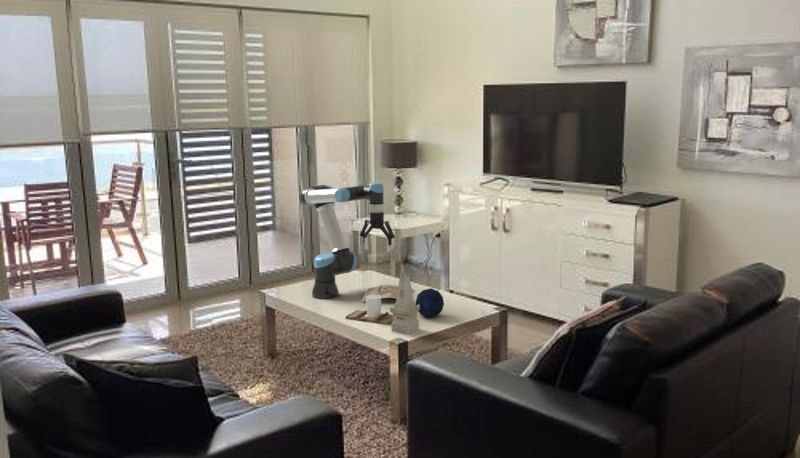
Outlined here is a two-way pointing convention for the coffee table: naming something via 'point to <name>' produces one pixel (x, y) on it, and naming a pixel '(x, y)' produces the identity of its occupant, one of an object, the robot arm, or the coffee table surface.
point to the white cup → (373, 305)
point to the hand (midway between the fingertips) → (377, 250)
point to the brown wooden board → (363, 316)
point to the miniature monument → (405, 307)
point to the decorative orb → (430, 302)
